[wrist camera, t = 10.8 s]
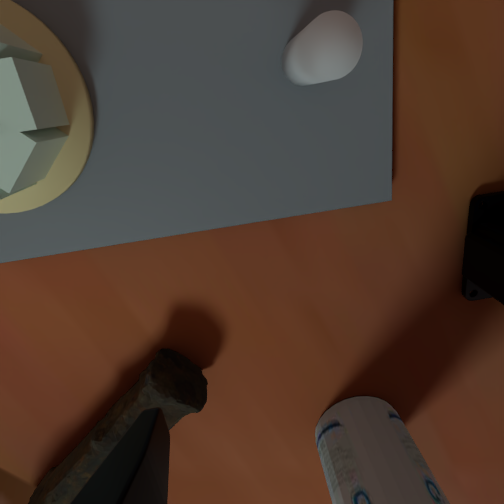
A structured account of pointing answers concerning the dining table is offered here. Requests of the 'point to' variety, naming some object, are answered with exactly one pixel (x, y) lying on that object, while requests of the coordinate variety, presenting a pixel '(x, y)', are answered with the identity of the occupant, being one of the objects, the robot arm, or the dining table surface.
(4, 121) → the ring
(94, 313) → the dining table surface
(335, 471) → the spray can
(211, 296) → the dining table surface
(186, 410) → the hand tool
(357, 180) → the rod board
